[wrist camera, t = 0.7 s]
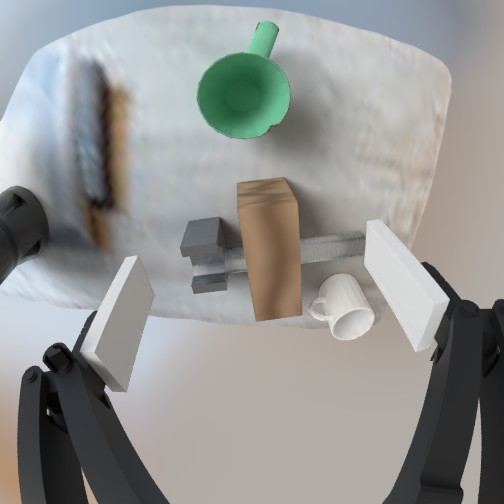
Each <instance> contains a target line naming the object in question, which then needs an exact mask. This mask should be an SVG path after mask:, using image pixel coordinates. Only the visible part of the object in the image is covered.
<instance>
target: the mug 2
mask: <svg viewBox="0 0 504 504" xmlns="http://www.w3.org/2000/svg"><path fill="white" fill-rule="evenodd" d="M318 296H319V297H318V298H315V299H312V300H311V302H310V305H309V308H308V310H307V311H308V312H309V313H310V314H311V315H312V316H313V317H314V318H315V319H318V320H321V321H326V320H327V322H328V325H329V328H330V330H331V333H332V335H333V336H334V337H335V338H336V339H339V340H353V339H356V338H358V337H360V336H362V335H363V334H365V333H366V332H367V331H368V330H369V329H370V328H371V326H372V325H373V323H374V320H375V315H374V312H373V310H372V308H371V306H370V304H369V303H368V301H367V299H366V297H365V295H364V293H363V291H362V289H361V288H360V286H359V284H358V282H357V280H356V279H355V278H354V277H353V276H351V275H350V274H345V273H341V274H336V275H333V276H331V277H329V278H328V279H326V280H325V281H324V282H323V284H322V285H321V287H320V289H319V295H318ZM320 302H321V304H322V307H323V310H324V313H325V315H323V314H319V313H318V312H317V311H316V310H315V309H314V306H315V304H317V303H320Z"/></svg>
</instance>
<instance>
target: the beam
mask: <svg viewBox="0 0 504 504" xmlns="http://www.w3.org/2000/svg"><path fill="white" fill-rule="evenodd" d="M237 212H238V218H239V224H240V230H241V236H242V242H243V248H244V254H245V260H246V266H247V272H248V278H249V284H250V290H251V296H252V302H253V307H254V313H255V319H256V322H257V321H265V320H272V319H279V318H286V317H293V316H300V315H302V286H301V256H300V233H299V215H298V202H297V200H296V198H295V196H294V194H293V193H292V191H291V189H290V187H289V185H288V184H287V182H286V180H285V178H284V177H281V178H272V179H264V180H256V181H249V182H242V183H237Z"/></svg>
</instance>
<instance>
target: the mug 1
mask: <svg viewBox="0 0 504 504" xmlns="http://www.w3.org/2000/svg"><path fill="white" fill-rule="evenodd" d="M278 32H279V28H278V27H277V25H276V24H274V23H273V22H271V21H262V22H259V23H258V25H257V28H256V30H255V33H254V36H253V38H252V41H251V44H250V47H249V50H248V53H246V52H241V53H235V54H230V55H227V56H225V57H223V58H221V59H219V60H217V61H215V62H214V63H213V64H212V65H211V66H210V67H209V68H208V69H207V70H206V71H205V72H204V74H203V76H202V78H201V80H200V82H199V84H198V91H197V102H198V106H199V111H200V113H201V114H202V116H203V118H204V119H205V121H206V123H207V124H209V125H210V126H211V127H212V128H213V129H214V130H216V131H217V132H218V133H221V134H223V135H226V136H228V137H230V138H238V139H249V138H255V137H260V136H262V135H263V134H265V133H267V132H268V131H269V130H270V128H271V126H276V125H278V124H279V123H280V122H281V121H282V120H283V118H284V117H285V115H286V113H287V111H288V109H289V104H290V98H291V92H290V87H289V82H288V80H287V78H286V76H285V74H284V73H283V71H282V69H281V68H279V67H278V66H277V65H276V64H275V63H274V62H273V61H272V60H270V59H269V56H270V54H271V51H272V48H273V45H274V43H275V40H276V37H277V34H278Z"/></svg>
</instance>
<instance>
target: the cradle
mask: <svg viewBox="0 0 504 504" xmlns="http://www.w3.org/2000/svg"><path fill="white" fill-rule="evenodd" d="M224 249H226V246H225V241H224V236H223V231H222V226H221V221H220V217H214V218H208V219H201V220H195V221H189V222H188V225H187V228H186V231H185V234H184V237H183V240H182V243H181V246H180V250H181V253H182V257H187V256H190V259H191V262H192V266H193V281H192V289H193V292H194V294H197V293H206V292H214V291H223V290H227V278H228V274H227V273H226V269H225V264H224V253H223V252H224Z"/></svg>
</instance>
